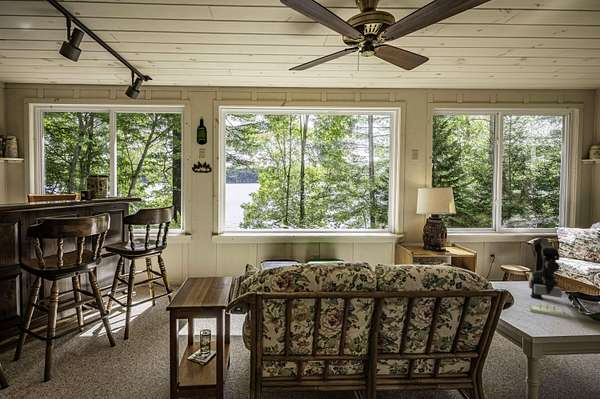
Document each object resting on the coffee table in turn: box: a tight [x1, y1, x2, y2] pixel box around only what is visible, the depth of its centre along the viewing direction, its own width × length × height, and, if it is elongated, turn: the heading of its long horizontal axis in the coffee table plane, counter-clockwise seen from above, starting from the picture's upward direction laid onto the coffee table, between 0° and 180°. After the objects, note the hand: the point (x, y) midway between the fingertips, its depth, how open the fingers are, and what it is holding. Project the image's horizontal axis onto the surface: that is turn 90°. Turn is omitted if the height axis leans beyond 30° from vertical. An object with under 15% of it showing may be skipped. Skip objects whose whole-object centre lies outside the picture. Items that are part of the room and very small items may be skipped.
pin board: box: [527, 303, 568, 319], centre depth 198 cm, size 9×18×4 cm, turn 62°
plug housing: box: [534, 284, 563, 298], centre depth 200 cm, size 5×13×5 cm, turn 62°
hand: (547, 292), depth 200 cm, fingers closed on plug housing, 5 cm apart
